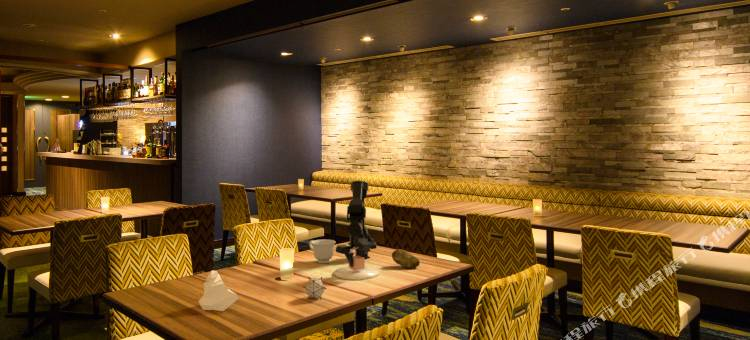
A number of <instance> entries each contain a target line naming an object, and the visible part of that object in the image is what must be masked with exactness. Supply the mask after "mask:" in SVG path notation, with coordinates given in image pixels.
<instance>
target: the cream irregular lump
mask: <svg viewBox="0 0 750 340" xmlns="http://www.w3.org/2000/svg"><path fill="white" fill-rule="evenodd" d="M203 290H204V292H203V296H202V297H201V298H200V299H199V300H198V304H199V307H200V308H201V310H202V311H219V312H224V311H225V310H226V309H228V308H229V307H230V306H231V305H233V304H234V303H235V302H236V301H237V300H239V298H238V297H239V296H238V294H237V293H236V292H234V291H232V290H230V289H229V288H228V286H227V285H226V284H225V283H224V281H223V279H222V277H221V275H220V274H219V273H218V271H217V270H211V271H210V272H209V274H208V275H207V277H206V279H205V282H204V283H203Z"/></svg>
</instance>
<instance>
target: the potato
mask: <svg viewBox="0 0 750 340" xmlns="http://www.w3.org/2000/svg"><path fill="white" fill-rule="evenodd" d="M391 258H392V260H393V262H394V263H396V264H397V265H398V266H400V267H402V268H404V269H414V268H417V267H419V266H420V262H421V261H420V259H419V258H418V257H416V256H415V255H413V254H411V253H409V252H408V251H406V250H405V249H402V248H401V249H400V248H398V249H395V250H393V252H392V253H391Z"/></svg>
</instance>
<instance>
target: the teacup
mask: <svg viewBox="0 0 750 340" xmlns="http://www.w3.org/2000/svg"><path fill="white" fill-rule="evenodd" d="M335 244H336V241H335V240H334V239H322V238H321V239H316V240H310V241H309V242H308V246H309V248H310V250H312V252H313V256H314V259H315V260H317V264H327V263H330V260H331V259H332V258H333V257H334V248H335V247H334V246H335Z"/></svg>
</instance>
